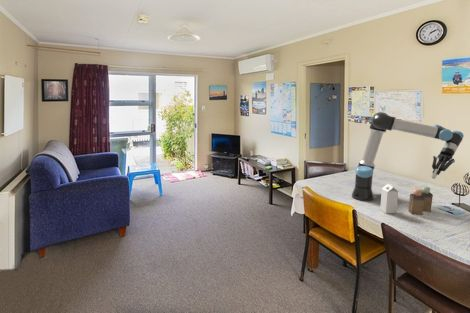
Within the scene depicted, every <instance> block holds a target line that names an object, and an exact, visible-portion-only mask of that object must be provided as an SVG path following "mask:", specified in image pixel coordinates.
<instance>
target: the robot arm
mask: <svg viewBox="0 0 470 313" xmlns="http://www.w3.org/2000/svg"><path fill="white" fill-rule="evenodd" d="M369 130H370V133H369V136H368V139H367V142H366V146H365V149H364V153H363V156H362V159H361V160H359V161H358V162H359V163H358V165H357V167H356V169H355V181H354V182H355V183H354V189H353V190H352V192H351V193H352V194H351V198H353V199H354V200H356V201H357V200H358V201H365V202H367V201H373V200H374V192H373V189H372V188H373V187H372V186H373V176H374V169H375V167H376V165H375V163H374V162H375V159H376V156H377V153H378V150H379V147H380V144H381V141H382V137H383V135H384V133H386V132H387V131H393V130H394V131H397V132H398V131H399V132H403V133H408V134H413V135H416V136H417V135H418V136H423V137H425V138H432V139H437V140H440V141H443V142H445V144H444V145H443V147H442V148H441V150H440V152H439V154H437V156H435V155H433V156H432V158H433V160H432V164H431V167H432V175H431V179H432V180H436V178H437V176H439V175H440V174H441V172H446V171H447V169H448V168H450V166H451V165H452V164H454V163H455V159H454V158H453V157H454V155H455V154H456V152H457V150H458V148H459V146H460V144H461V143H462V141H463V139H464V133H463V132H462V131H458V130H453V131H452V130H450V129H448V128H446V127H444V126H441V125H439V124H435V125H428V124H423V123H418V122H414V121H408V120H404V119H403V120H402V119H399V118H396V117H395V116H392V115H389V114H387V113H386V112H382V111H380V112H377V113H375V114H374V115H373V116H372V118H371V123H370V125H369Z"/></svg>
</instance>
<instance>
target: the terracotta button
mask: <svg viewBox="0 0 470 313" xmlns="http://www.w3.org/2000/svg"><path fill="white" fill-rule="evenodd" d="M412 194H413V196H414V197H421V195H422V189H418V188H414V189H413V191H412Z"/></svg>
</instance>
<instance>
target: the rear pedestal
mask: <svg viewBox="0 0 470 313" xmlns="http://www.w3.org/2000/svg"><path fill="white" fill-rule="evenodd" d="M422 196H424V197H425V198H424V207H423V213H425V212H427V213H432V204H433V197H434V194H433V193H431V192H430V194H422Z"/></svg>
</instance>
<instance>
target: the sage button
mask: <svg viewBox="0 0 470 313" xmlns="http://www.w3.org/2000/svg"><path fill="white" fill-rule="evenodd" d="M421 190H422V194H430V193H431V187H428V186H422V187H421Z"/></svg>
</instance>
